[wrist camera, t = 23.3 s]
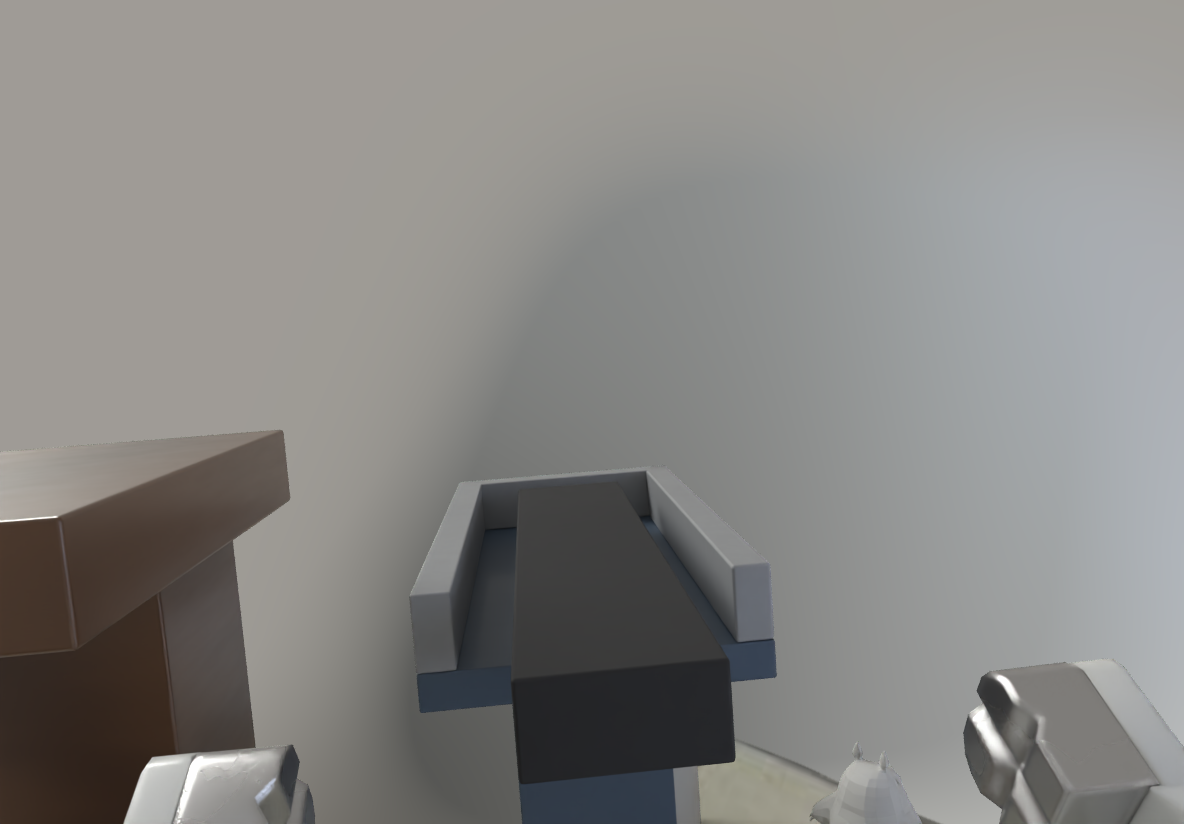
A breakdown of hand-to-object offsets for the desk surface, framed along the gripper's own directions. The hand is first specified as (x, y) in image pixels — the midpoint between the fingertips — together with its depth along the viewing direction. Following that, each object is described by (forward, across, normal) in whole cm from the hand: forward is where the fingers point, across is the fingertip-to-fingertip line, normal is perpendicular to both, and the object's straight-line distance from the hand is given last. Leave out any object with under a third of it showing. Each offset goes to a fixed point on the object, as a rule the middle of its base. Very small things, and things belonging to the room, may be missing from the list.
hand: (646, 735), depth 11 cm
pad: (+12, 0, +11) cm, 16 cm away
